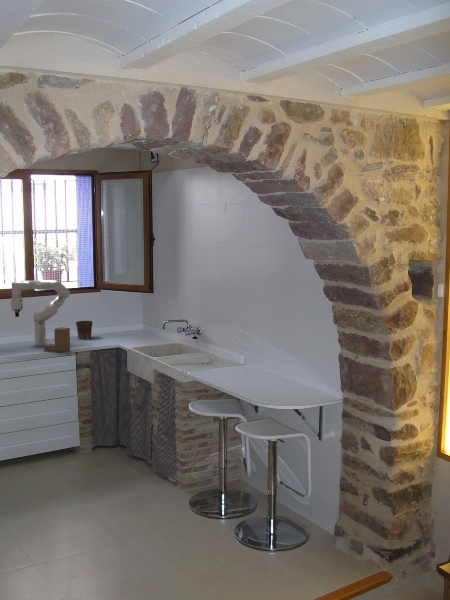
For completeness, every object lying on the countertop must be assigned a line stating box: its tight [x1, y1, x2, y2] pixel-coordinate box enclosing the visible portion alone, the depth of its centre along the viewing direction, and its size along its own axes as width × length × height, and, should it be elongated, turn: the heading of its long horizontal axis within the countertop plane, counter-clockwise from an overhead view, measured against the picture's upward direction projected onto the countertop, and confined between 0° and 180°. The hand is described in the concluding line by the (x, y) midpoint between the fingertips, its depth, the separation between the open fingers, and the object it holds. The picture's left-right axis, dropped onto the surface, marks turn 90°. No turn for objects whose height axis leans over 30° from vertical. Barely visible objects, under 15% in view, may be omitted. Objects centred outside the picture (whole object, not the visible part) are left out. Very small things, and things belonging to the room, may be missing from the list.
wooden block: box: [53, 326, 71, 353], centre depth 577 cm, size 10×10×20 cm
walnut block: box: [43, 343, 55, 353], centre depth 581 cm, size 10×10×5 cm
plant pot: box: [75, 320, 93, 340], centre depth 641 cm, size 16×16×16 cm
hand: (17, 316), depth 595 cm, fingers closed
